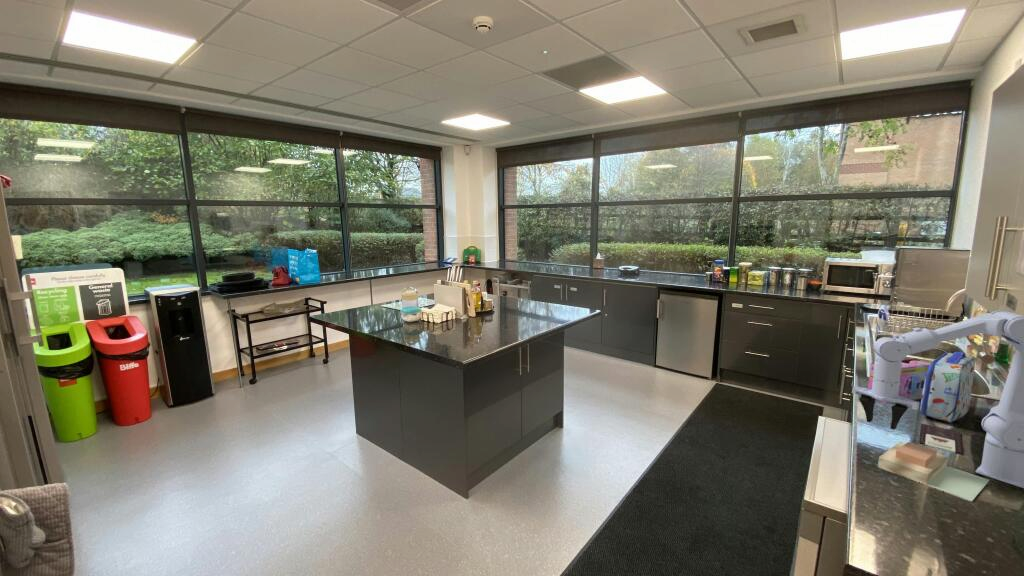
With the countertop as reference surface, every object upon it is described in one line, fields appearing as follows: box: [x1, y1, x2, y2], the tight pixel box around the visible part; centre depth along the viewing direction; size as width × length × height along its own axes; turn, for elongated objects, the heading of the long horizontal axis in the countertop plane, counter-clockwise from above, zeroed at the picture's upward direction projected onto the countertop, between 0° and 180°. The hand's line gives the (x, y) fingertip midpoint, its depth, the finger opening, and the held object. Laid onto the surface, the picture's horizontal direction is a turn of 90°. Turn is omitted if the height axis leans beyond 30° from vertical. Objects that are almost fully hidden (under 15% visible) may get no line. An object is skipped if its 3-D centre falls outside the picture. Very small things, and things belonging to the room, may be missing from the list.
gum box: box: [867, 358, 930, 404], centre depth 164 cm, size 24×8×14 cm, turn 102°
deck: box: [877, 441, 949, 486], centre depth 116 cm, size 10×16×3 cm, turn 121°
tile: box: [895, 441, 938, 468], centre depth 115 cm, size 6×9×2 cm, turn 121°
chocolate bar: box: [918, 423, 963, 456], centre depth 131 cm, size 9×1×18 cm
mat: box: [926, 465, 990, 503], centre depth 108 cm, size 8×16×1 cm, turn 121°
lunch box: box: [919, 351, 976, 423], centre depth 147 cm, size 28×10×22 cm, turn 126°
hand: (881, 424), depth 121 cm, fingers open, 5 cm apart
